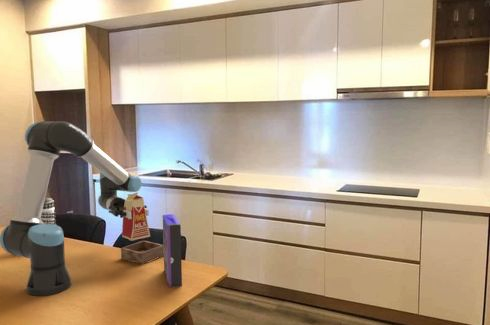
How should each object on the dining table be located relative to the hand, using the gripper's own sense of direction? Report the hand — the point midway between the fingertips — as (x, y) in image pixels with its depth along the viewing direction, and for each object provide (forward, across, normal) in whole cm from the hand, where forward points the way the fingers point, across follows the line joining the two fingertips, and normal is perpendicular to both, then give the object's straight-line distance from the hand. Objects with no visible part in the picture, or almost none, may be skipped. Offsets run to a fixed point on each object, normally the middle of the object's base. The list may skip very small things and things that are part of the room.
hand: (139, 214), depth 171 cm
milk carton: (-5, 0, -11) cm, 12 cm away
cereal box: (+20, -4, -23) cm, 31 cm away
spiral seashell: (-53, +24, -23) cm, 63 cm away
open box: (-10, -6, -23) cm, 26 cm away
